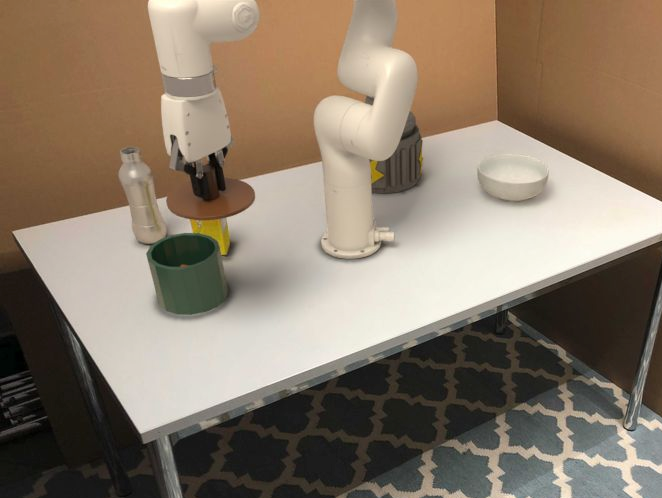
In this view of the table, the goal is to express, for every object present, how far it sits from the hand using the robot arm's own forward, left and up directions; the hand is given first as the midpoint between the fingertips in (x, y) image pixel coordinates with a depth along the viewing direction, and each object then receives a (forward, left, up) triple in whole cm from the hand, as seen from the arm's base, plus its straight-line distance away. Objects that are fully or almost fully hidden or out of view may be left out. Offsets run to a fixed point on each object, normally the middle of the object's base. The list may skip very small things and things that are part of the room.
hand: (210, 191), depth 127 cm
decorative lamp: (-24, -58, -25) cm, 68 cm away
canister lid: (0, 0, -1) cm, 1 cm away
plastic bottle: (+23, -26, -25) cm, 43 cm away
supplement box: (+9, -22, -25) cm, 35 cm away
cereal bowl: (-55, -51, -25) cm, 80 cm away
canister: (+9, -5, -25) cm, 27 cm away
